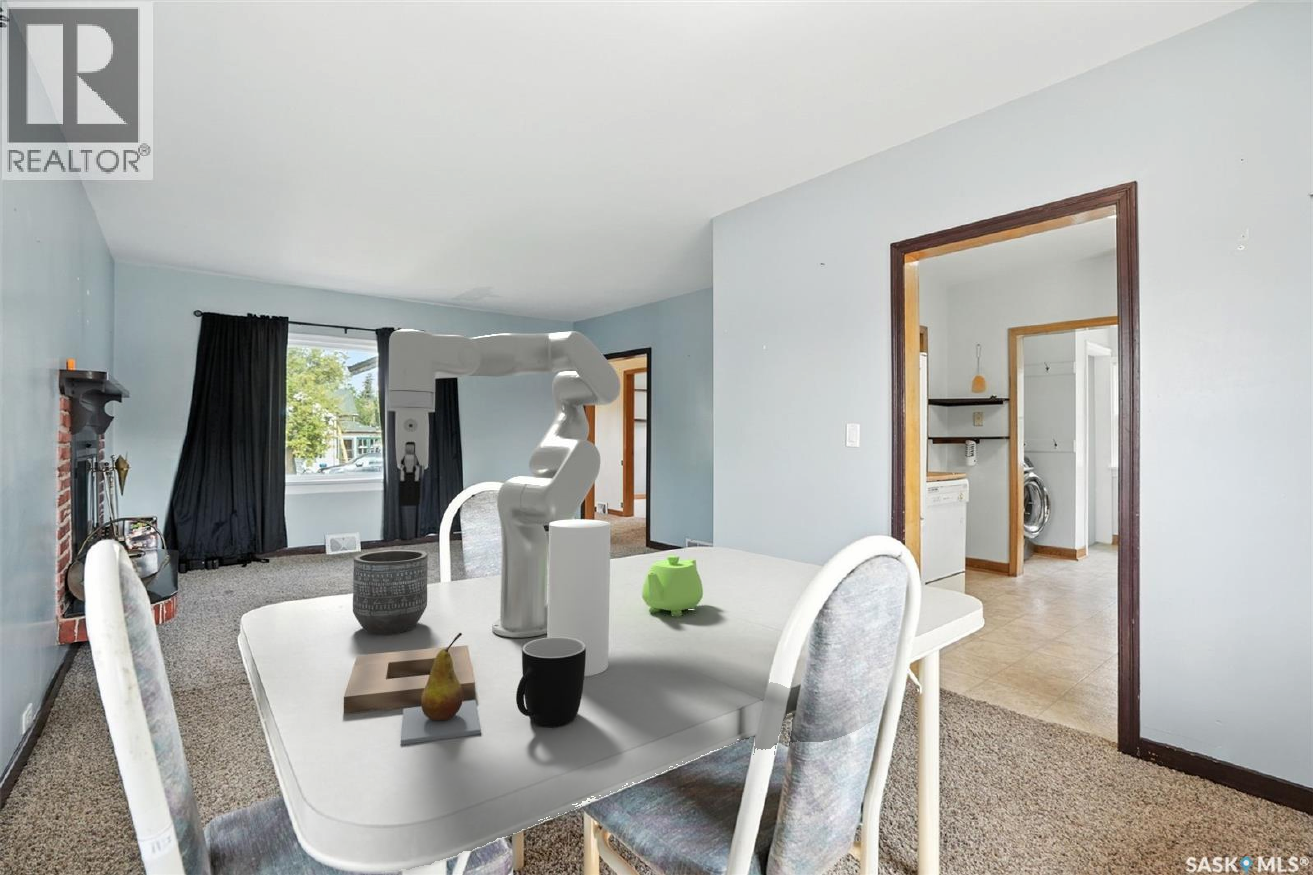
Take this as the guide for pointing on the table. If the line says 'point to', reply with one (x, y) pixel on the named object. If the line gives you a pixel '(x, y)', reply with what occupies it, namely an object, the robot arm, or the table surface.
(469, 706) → the coaster
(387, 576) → the planter
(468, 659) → the block with square hole
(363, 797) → the table surface
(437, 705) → the fruit
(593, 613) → the tall pillar cylinder
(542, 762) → the table surface
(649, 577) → the teapot
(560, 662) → the mug
